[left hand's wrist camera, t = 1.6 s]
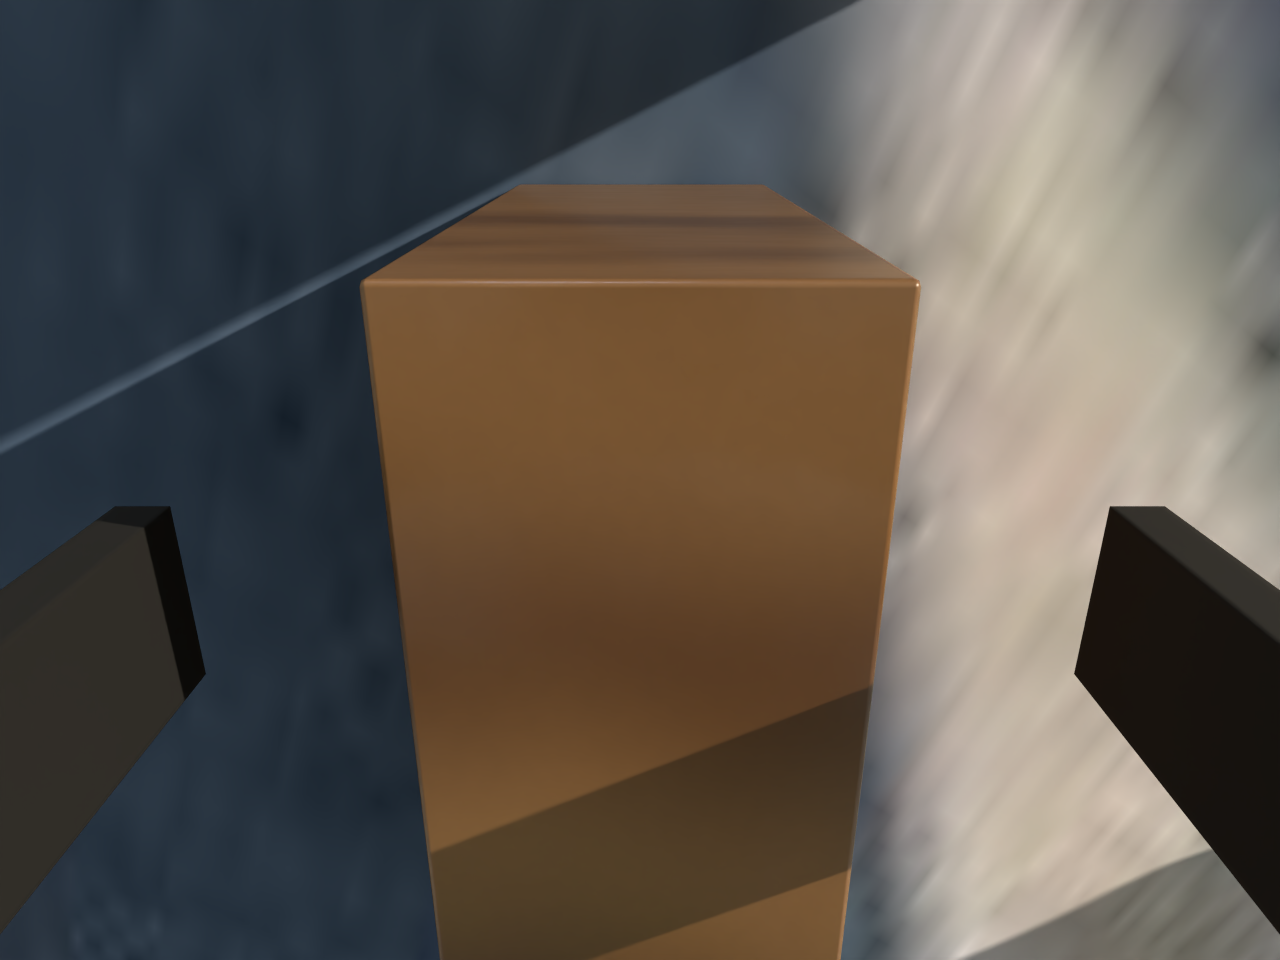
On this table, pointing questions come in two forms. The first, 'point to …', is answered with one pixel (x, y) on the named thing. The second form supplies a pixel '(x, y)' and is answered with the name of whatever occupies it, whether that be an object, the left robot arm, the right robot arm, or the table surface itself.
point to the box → (640, 563)
